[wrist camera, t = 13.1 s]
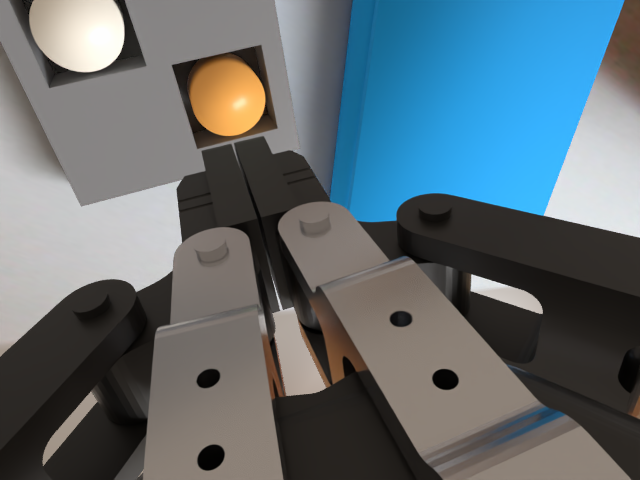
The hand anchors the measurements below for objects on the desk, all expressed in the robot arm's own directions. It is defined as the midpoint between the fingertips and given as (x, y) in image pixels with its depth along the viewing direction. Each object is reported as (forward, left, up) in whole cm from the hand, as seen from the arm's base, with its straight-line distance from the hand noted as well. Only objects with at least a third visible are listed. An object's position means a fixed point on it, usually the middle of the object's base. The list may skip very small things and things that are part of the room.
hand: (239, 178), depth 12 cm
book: (-17, +5, -20) cm, 27 cm away
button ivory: (+4, -1, -19) cm, 19 cm away
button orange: (-2, +4, -19) cm, 19 cm away
